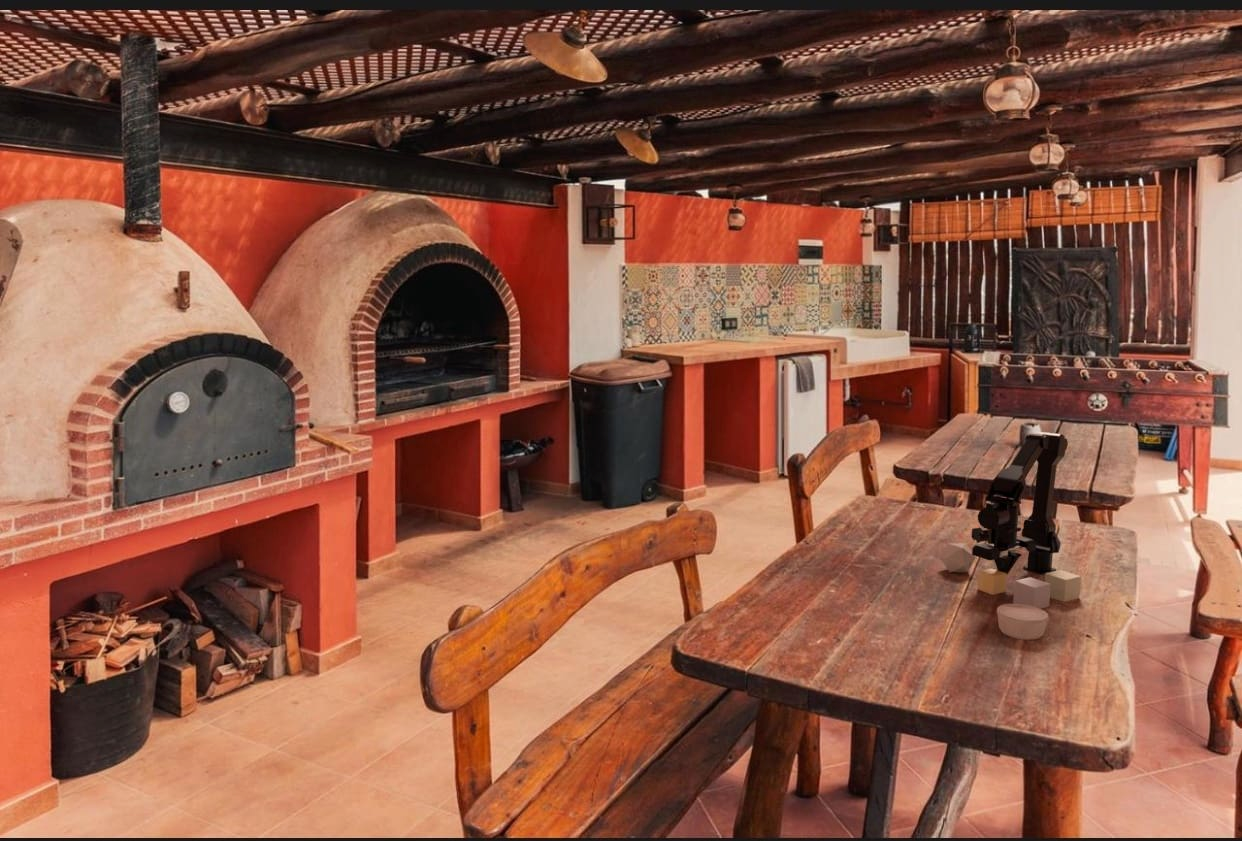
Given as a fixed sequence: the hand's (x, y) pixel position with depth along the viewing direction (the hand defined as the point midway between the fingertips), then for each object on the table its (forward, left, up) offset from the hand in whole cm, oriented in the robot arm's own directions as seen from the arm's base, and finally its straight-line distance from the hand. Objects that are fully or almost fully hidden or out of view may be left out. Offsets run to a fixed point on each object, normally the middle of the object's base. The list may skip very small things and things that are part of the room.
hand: (1002, 578), depth 244 cm
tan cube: (-8, +12, -3) cm, 15 cm away
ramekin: (+22, +23, -3) cm, 32 cm away
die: (-1, -16, -3) cm, 16 cm away
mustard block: (+4, 0, -3) cm, 5 cm away
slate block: (+4, +12, -3) cm, 13 cm away
